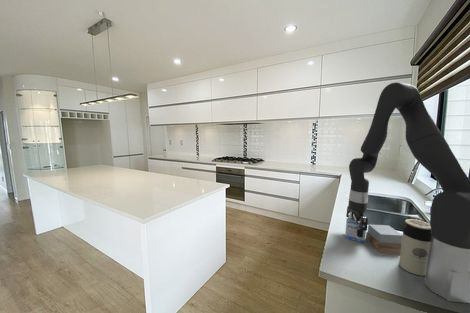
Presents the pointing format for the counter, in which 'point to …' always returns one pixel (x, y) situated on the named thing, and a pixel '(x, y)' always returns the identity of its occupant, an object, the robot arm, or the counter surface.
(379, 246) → the tower base block
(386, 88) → the robot arm
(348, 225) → the medicine box
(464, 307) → the counter surface
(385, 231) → the tower top block
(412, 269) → the travel mug
